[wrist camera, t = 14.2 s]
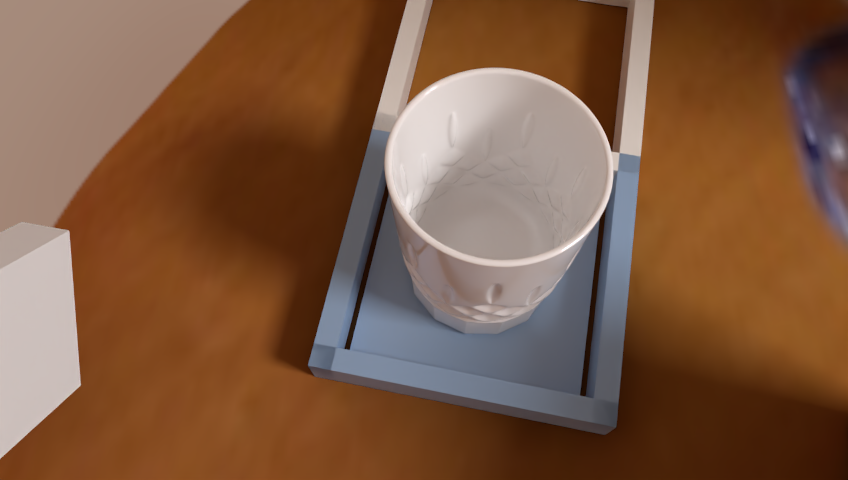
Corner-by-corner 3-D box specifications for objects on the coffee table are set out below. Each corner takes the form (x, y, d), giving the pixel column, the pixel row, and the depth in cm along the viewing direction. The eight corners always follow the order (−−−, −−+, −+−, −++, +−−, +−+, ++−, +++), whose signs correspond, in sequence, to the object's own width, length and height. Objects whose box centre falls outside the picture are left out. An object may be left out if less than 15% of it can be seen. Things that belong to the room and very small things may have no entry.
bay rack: (646, -4, 40) (657, -30, 39) (605, 435, 31) (616, 427, 29) (424, -37, 42) (424, -64, 40) (314, 376, 32) (307, 365, 30)
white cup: (584, 329, 32) (645, 240, 23) (415, 364, 32) (408, 287, 22) (537, 180, 35) (575, 50, 26) (382, 210, 35) (365, 87, 26)
